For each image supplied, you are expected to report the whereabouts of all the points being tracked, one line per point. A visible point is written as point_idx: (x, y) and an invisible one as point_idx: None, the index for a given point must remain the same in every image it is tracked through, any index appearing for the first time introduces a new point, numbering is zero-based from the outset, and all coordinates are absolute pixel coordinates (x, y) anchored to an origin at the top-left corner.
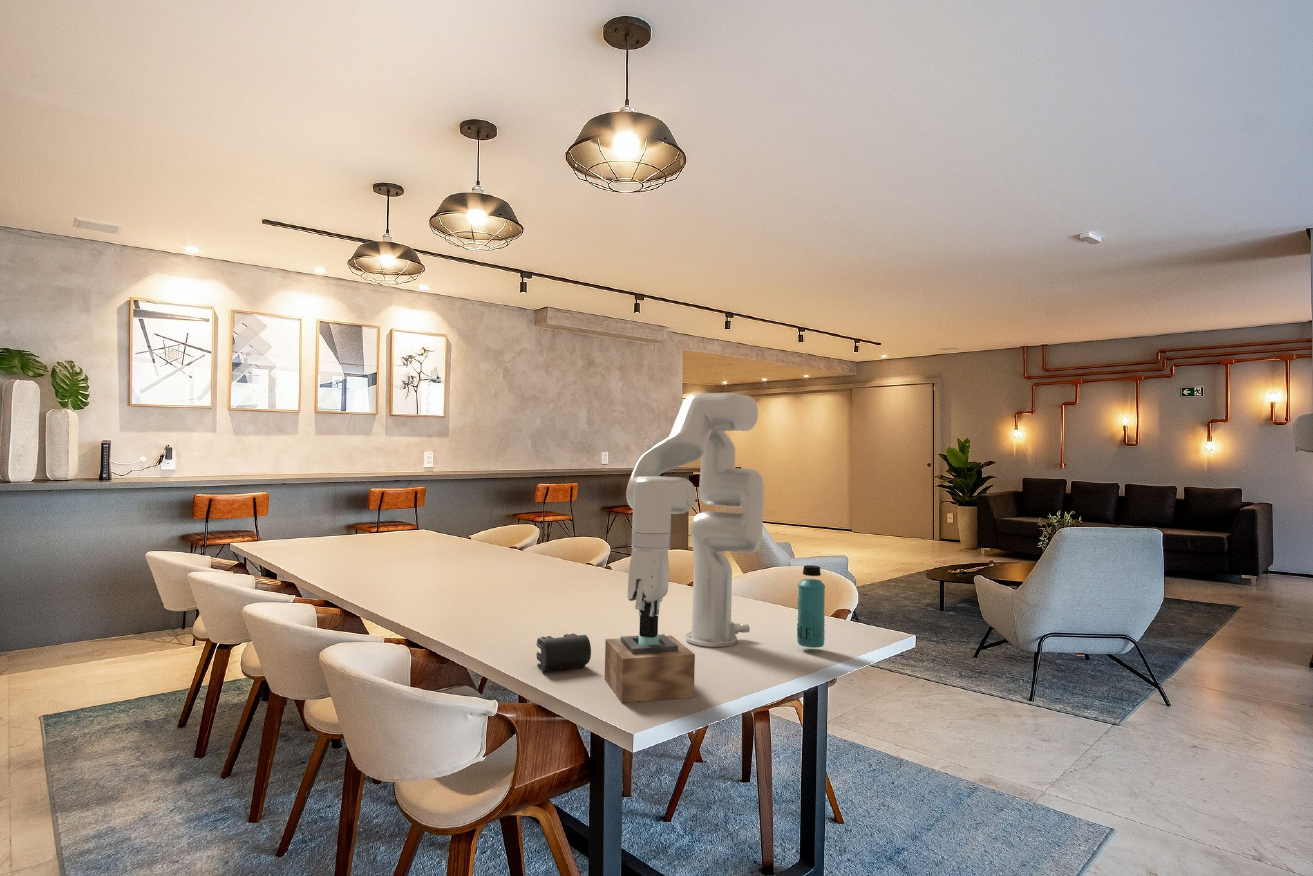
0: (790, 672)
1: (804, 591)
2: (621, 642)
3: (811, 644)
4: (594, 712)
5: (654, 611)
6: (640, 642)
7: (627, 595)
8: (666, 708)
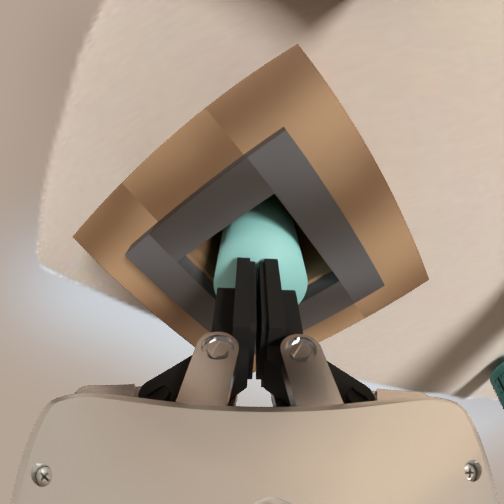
0: (417, 376)
1: None
2: (270, 135)
3: (492, 377)
4: (56, 160)
5: (272, 394)
6: (222, 251)
7: (38, 420)
8: None
